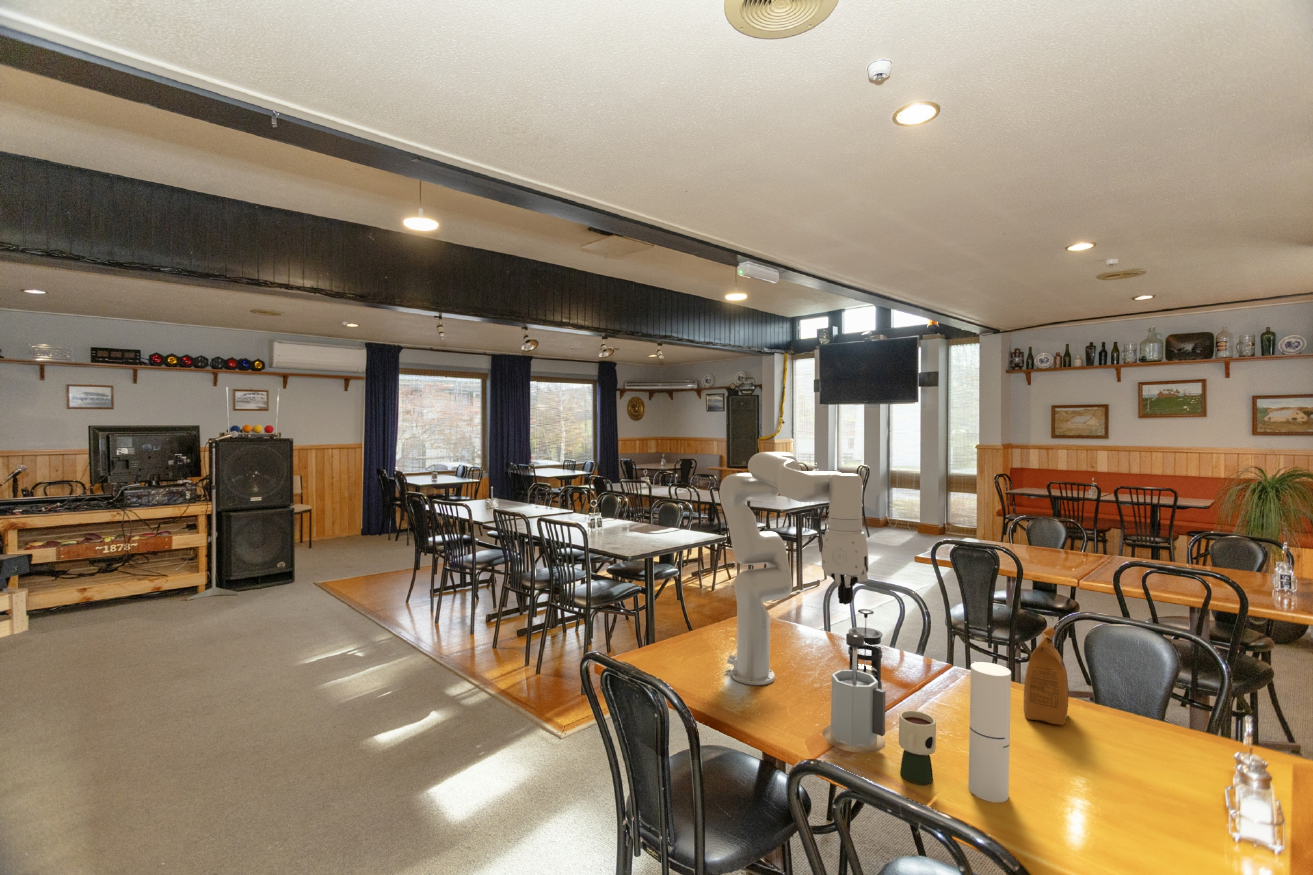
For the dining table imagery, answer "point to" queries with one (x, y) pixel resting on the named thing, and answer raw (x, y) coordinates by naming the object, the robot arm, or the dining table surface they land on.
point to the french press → (876, 653)
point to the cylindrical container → (989, 731)
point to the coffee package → (1046, 683)
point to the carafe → (857, 710)
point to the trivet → (874, 748)
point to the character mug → (917, 745)
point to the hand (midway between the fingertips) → (845, 602)
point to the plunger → (854, 657)
